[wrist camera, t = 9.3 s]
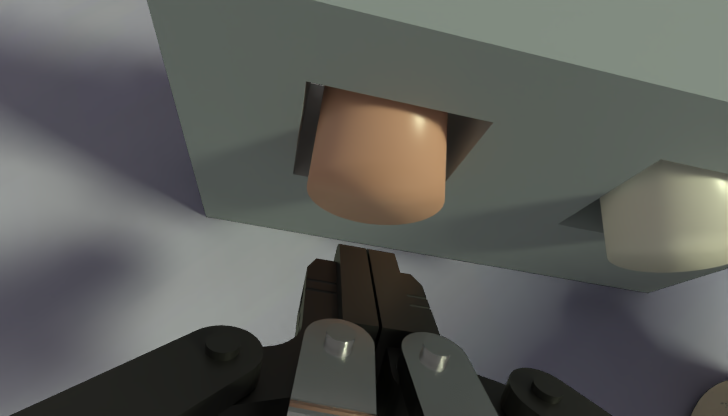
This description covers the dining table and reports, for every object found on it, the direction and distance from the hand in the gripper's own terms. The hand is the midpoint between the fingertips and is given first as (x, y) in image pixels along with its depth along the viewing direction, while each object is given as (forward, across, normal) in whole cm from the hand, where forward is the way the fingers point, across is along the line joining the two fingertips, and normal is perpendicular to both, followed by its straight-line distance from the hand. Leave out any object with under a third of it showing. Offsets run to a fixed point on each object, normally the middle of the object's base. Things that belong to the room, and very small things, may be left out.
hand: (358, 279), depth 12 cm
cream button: (+6, +10, +3) cm, 12 cm away
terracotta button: (+6, 0, +3) cm, 6 cm away
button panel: (+10, +5, -1) cm, 11 cm away
